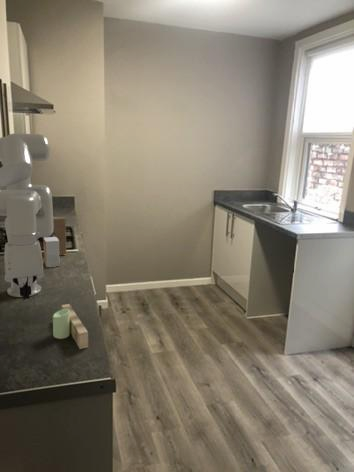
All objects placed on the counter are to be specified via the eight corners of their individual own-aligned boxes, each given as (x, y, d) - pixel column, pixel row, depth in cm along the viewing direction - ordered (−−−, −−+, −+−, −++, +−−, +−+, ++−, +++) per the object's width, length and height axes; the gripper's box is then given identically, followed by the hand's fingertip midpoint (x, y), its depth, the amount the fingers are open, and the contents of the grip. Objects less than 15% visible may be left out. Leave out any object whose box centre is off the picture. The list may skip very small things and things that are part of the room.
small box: (43, 262, 188) (42, 237, 185) (57, 261, 191) (56, 236, 188) (46, 267, 181) (45, 241, 178) (60, 266, 184) (59, 240, 181)
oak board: (62, 318, 131) (61, 305, 130) (69, 317, 132) (69, 303, 131) (79, 349, 113) (79, 333, 111) (88, 347, 114) (88, 332, 113)
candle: (53, 339, 117) (52, 315, 115) (53, 332, 122) (52, 308, 120) (70, 338, 119) (70, 313, 117) (69, 330, 123) (69, 307, 121)
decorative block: (44, 257, 197) (43, 219, 192) (43, 254, 202) (42, 217, 197) (66, 255, 202) (65, 218, 197) (65, 252, 207) (64, 216, 202)
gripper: (47, 232, 115) (49, 288, 120) (-8, 237, 108) (-4, 296, 113) (52, 239, 109) (54, 298, 114) (-6, 244, 101) (-1, 307, 106)
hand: (25, 297), depth 113 cm, fingers closed
